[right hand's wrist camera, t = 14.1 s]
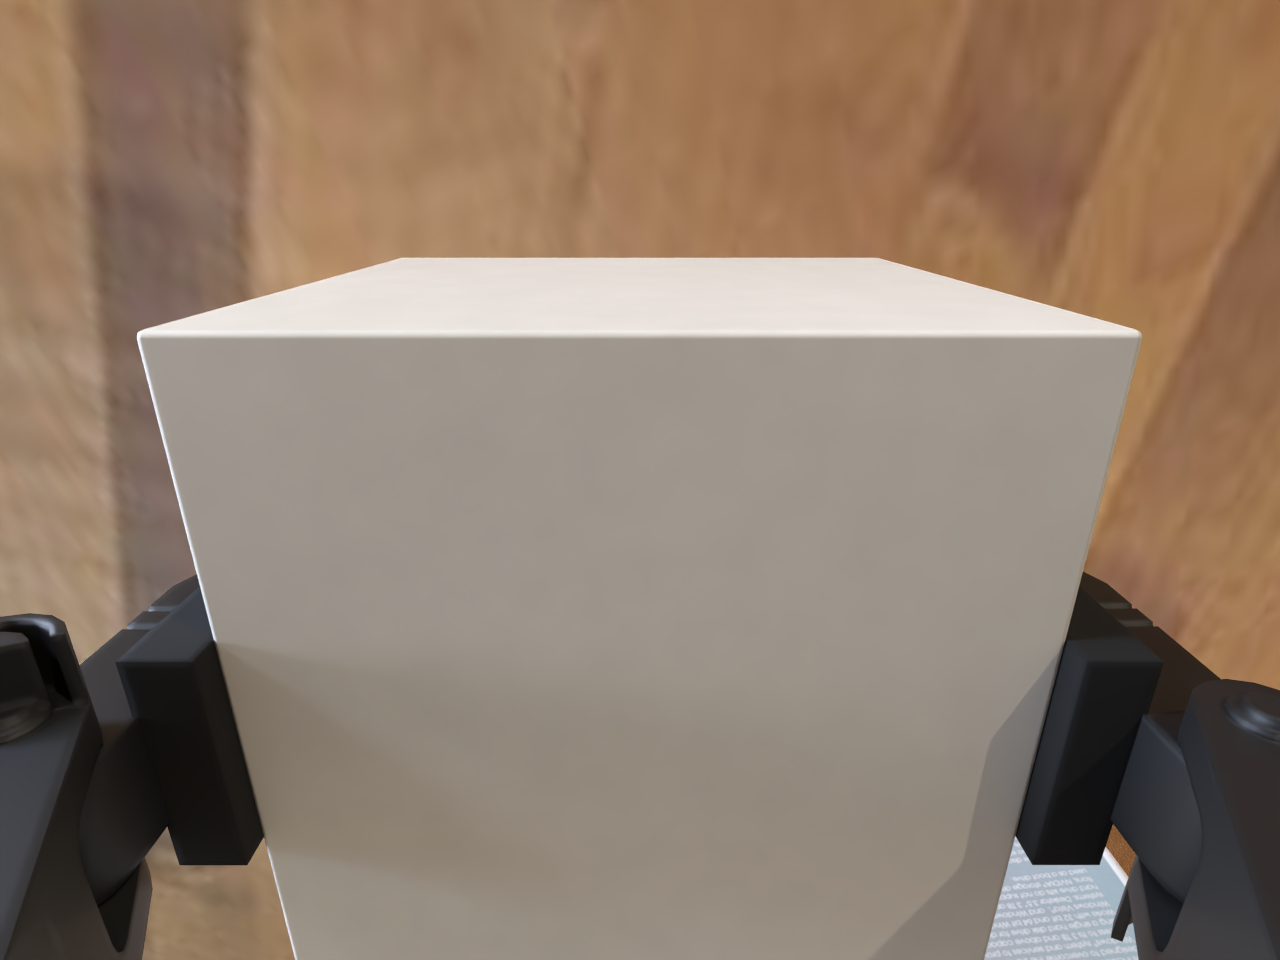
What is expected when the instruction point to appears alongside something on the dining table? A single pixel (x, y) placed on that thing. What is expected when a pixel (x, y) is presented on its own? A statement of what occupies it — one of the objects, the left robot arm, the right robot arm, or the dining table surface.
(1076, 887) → the hard drive box
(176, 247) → the dining table surface
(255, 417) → the white cube
